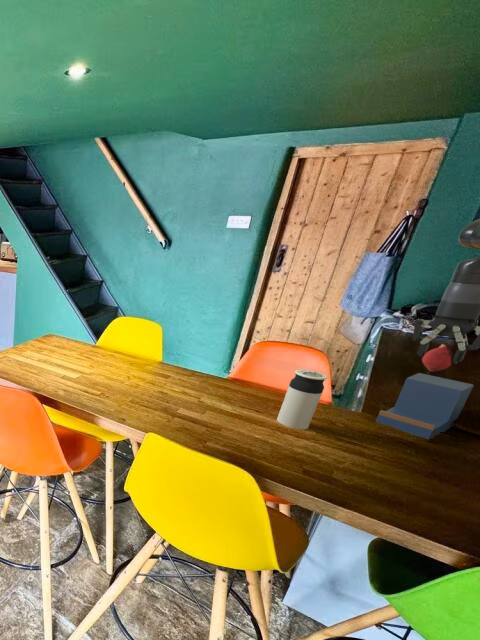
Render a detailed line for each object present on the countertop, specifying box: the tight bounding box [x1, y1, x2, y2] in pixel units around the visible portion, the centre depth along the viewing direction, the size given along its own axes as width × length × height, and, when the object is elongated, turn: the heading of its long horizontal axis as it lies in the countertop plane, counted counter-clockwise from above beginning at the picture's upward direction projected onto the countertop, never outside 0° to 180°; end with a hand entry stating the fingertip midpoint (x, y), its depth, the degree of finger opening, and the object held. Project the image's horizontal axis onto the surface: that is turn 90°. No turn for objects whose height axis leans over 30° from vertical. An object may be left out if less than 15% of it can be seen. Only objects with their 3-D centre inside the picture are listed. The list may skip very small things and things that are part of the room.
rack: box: [375, 372, 475, 439], centre depth 124 cm, size 22×12×14 cm, turn 118°
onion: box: [421, 343, 455, 373], centre depth 113 cm, size 6×6×8 cm
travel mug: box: [276, 369, 328, 430], centre depth 123 cm, size 8×8×18 cm
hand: (437, 359), depth 113 cm, fingers closed on onion, 6 cm apart
